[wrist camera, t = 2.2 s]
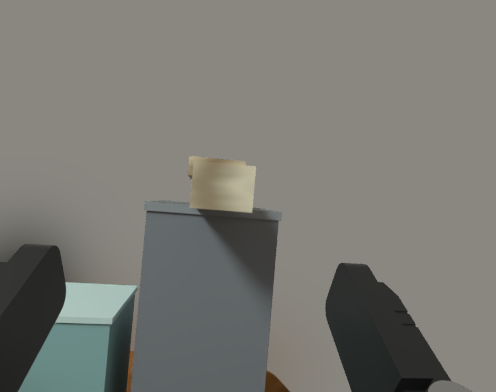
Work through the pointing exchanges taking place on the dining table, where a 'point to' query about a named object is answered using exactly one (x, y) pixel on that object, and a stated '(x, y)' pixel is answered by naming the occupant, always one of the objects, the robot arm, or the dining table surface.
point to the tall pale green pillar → (86, 342)
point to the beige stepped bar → (221, 184)
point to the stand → (204, 299)
